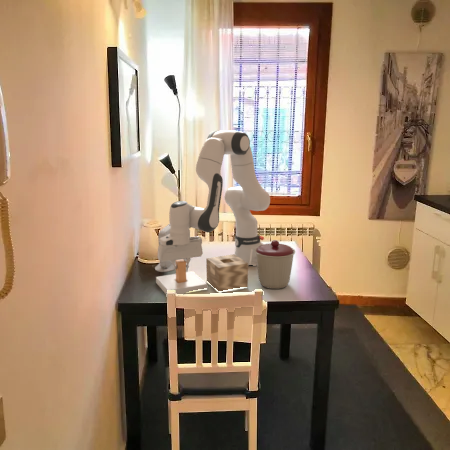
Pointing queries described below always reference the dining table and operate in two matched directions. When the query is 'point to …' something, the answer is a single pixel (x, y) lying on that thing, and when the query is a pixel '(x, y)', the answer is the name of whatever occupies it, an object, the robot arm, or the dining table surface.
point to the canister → (274, 264)
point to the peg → (181, 271)
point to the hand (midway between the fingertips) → (180, 268)
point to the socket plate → (191, 283)
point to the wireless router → (165, 265)
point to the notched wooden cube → (227, 272)
